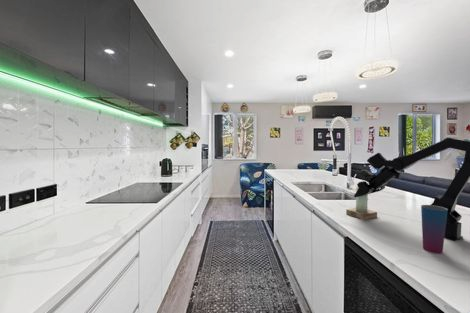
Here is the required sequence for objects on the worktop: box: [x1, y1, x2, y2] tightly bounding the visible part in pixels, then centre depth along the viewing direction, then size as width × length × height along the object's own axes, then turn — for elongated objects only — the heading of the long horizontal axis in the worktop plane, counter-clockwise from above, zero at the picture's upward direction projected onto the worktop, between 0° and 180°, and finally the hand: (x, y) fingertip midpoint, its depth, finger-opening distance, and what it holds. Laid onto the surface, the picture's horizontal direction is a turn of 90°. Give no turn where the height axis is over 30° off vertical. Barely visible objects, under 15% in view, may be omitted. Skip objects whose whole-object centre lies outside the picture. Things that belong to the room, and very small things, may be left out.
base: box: [345, 207, 378, 220], centre depth 115 cm, size 10×10×2 cm
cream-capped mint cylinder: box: [355, 186, 369, 212], centre depth 114 cm, size 5×5×12 cm
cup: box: [420, 204, 448, 254], centre depth 76 cm, size 7×7×15 cm
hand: (359, 195), depth 115 cm, fingers open, 9 cm apart
